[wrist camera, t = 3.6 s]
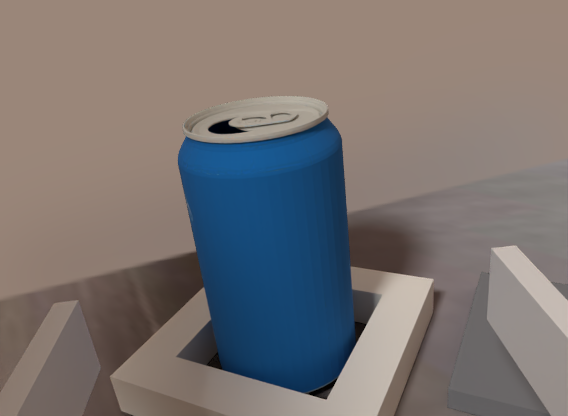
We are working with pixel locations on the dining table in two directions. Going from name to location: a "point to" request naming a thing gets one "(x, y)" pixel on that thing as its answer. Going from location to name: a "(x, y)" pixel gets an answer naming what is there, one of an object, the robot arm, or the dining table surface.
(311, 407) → the can holder
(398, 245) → the dining table surface
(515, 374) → the coaster
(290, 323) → the beverage can
